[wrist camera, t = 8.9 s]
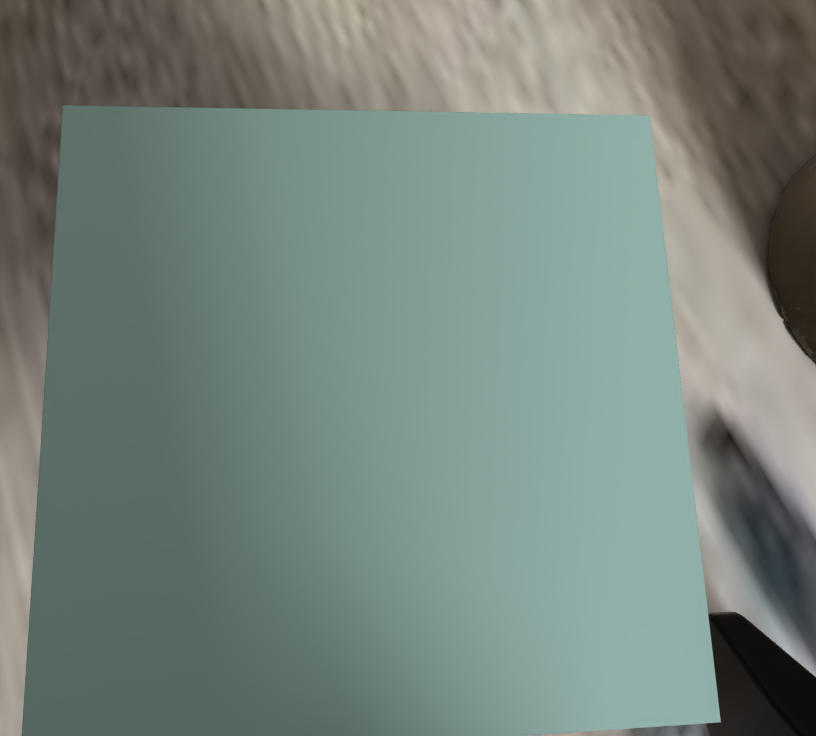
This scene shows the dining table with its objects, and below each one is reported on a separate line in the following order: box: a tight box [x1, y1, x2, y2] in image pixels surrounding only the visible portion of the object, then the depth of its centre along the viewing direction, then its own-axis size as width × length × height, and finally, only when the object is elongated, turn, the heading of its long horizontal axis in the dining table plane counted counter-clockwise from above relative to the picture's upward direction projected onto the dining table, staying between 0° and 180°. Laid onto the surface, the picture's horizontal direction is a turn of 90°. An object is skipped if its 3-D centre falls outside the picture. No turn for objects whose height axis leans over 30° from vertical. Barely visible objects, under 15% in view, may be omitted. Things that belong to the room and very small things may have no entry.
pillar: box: [22, 105, 721, 736], centre depth 12 cm, size 5×5×13 cm
